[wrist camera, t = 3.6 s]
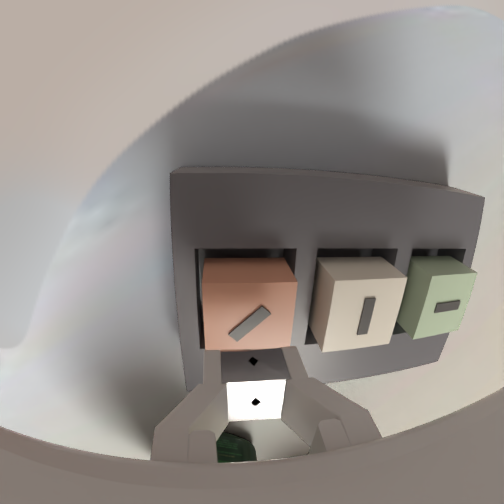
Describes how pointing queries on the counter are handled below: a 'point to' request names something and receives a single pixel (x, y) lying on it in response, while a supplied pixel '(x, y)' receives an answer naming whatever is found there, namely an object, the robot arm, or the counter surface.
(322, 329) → the key mid
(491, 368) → the counter surface
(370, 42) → the counter surface
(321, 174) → the keypad
